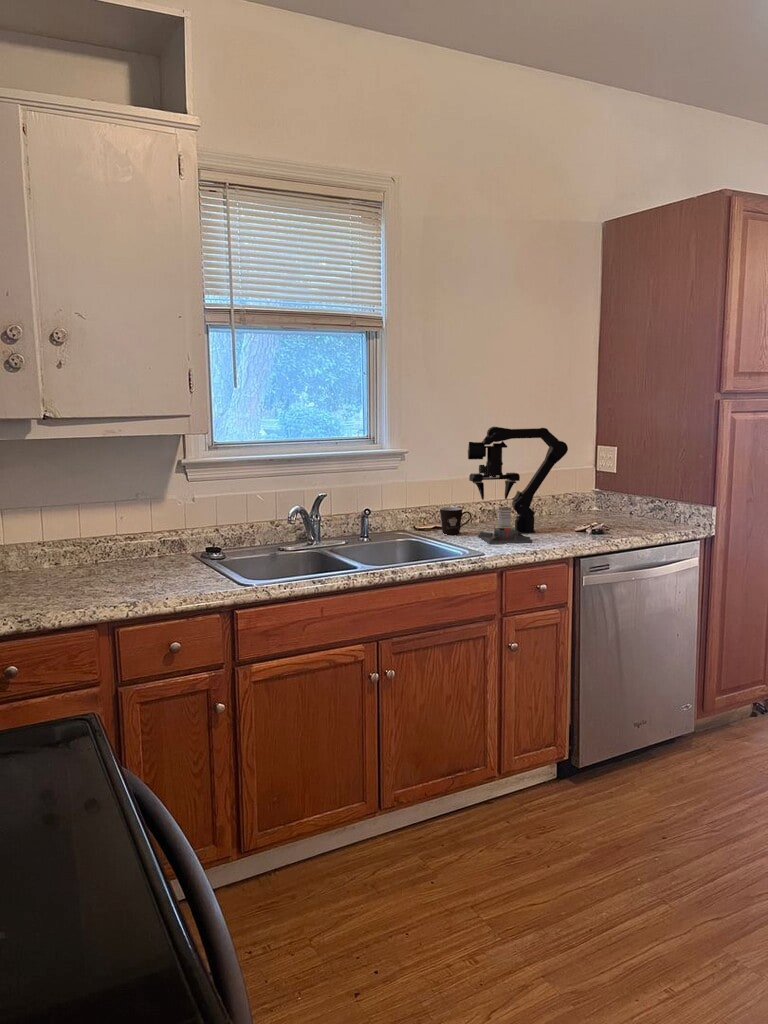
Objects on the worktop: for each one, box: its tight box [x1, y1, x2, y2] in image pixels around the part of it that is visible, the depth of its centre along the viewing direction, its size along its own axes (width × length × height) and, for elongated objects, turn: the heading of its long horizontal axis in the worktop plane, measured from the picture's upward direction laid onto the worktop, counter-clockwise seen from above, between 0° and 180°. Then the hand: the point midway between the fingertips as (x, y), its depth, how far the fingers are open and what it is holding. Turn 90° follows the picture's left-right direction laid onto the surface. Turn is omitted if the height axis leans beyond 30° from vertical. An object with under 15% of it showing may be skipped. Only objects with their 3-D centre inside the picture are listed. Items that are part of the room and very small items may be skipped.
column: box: [497, 506, 512, 528], centre depth 287 cm, size 4×4×7 cm
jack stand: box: [477, 527, 533, 545], centre depth 288 cm, size 16×16×5 cm
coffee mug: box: [439, 506, 473, 536], centre depth 300 cm, size 12×9×10 cm
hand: (494, 499), depth 303 cm, fingers open, 9 cm apart
